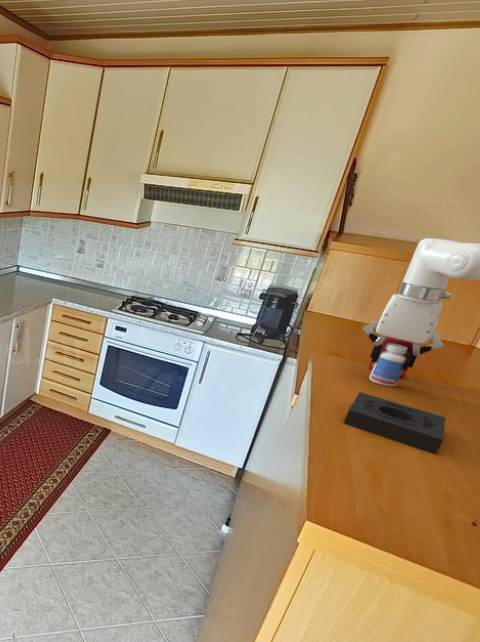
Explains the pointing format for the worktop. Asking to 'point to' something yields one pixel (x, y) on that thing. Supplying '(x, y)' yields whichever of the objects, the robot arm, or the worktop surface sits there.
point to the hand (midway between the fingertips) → (389, 364)
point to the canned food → (399, 342)
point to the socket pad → (397, 422)
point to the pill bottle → (389, 365)
